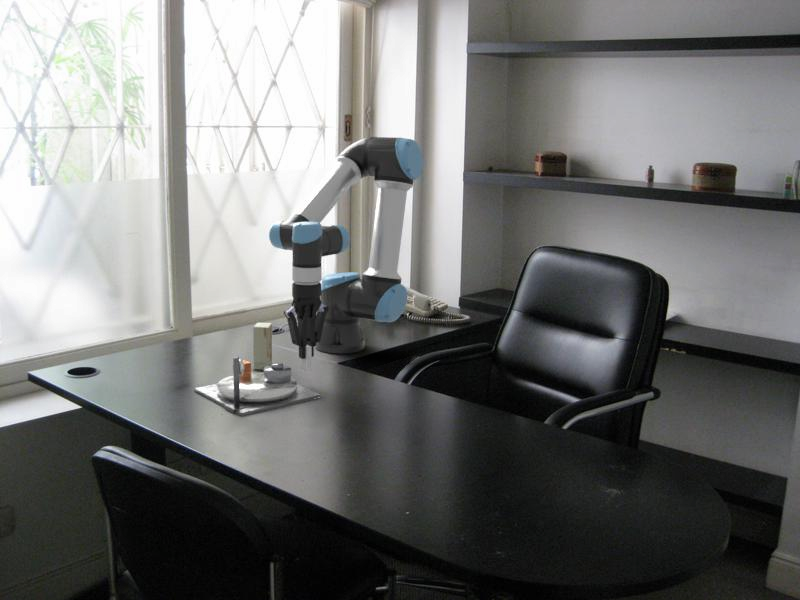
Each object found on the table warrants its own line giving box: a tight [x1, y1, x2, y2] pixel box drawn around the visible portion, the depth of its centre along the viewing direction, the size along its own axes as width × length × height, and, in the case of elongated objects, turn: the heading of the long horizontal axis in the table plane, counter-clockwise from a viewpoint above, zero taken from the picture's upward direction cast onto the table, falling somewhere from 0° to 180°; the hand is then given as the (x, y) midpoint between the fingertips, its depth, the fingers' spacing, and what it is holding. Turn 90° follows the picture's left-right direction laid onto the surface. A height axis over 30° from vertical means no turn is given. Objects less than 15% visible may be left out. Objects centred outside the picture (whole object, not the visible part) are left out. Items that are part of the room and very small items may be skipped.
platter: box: [216, 359, 298, 402], centre depth 216 cm, size 20×20×5 cm
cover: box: [263, 361, 292, 384], centre depth 220 cm, size 7×7×4 cm
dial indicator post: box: [224, 356, 248, 415], centre depth 205 cm, size 4×6×13 cm
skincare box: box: [252, 322, 273, 370], centre depth 240 cm, size 6×4×12 cm
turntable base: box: [194, 383, 322, 417], centre depth 217 cm, size 23×23×1 cm
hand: (306, 369), depth 226 cm, fingers closed
